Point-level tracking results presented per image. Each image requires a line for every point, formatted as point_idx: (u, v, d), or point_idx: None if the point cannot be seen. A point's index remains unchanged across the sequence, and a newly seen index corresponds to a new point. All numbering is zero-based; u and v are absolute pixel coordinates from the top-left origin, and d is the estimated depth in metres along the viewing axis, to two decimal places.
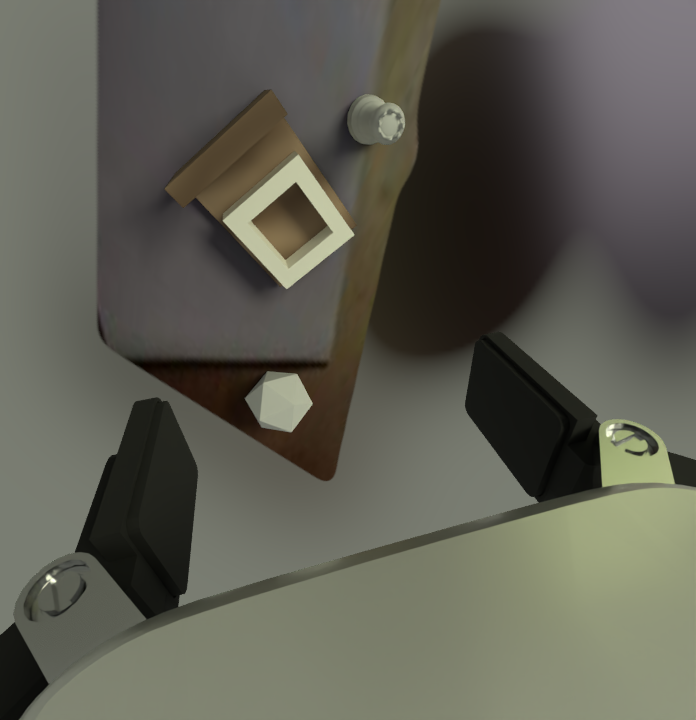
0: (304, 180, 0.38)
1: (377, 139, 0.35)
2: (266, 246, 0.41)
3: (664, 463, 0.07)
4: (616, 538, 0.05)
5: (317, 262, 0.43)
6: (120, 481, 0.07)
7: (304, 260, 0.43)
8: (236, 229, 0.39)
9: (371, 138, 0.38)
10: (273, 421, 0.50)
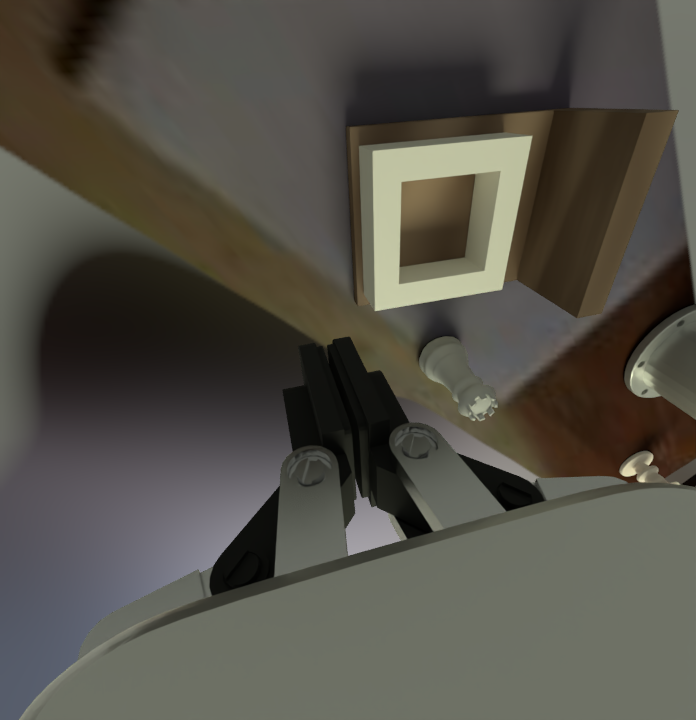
0: (476, 281, 0.27)
1: (476, 389, 0.29)
2: (456, 173, 0.23)
3: (448, 450, 0.08)
4: (616, 538, 0.05)
5: (376, 237, 0.24)
6: (322, 397, 0.09)
7: (394, 218, 0.23)
8: (508, 146, 0.22)
9: (442, 364, 0.33)
10: None
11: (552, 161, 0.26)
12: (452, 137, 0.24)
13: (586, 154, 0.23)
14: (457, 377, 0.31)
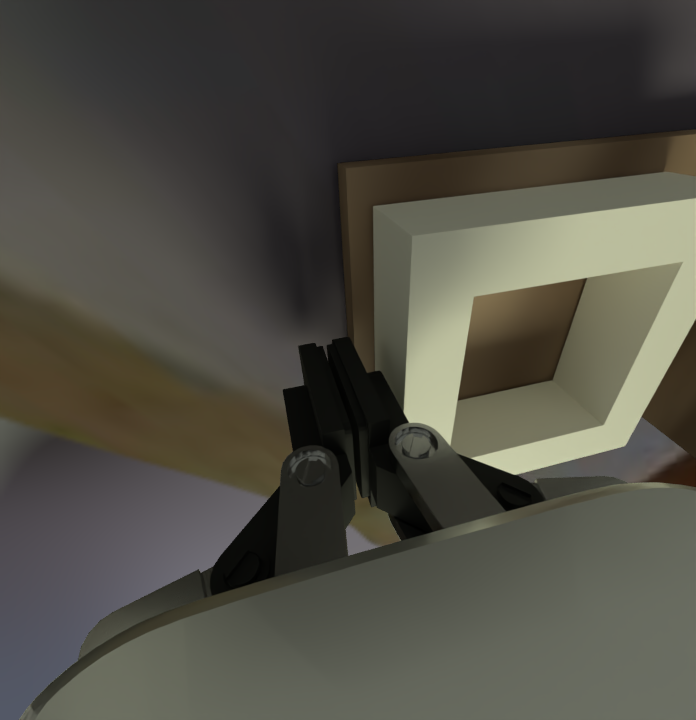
0: (586, 441, 0.15)
1: None
2: (593, 271, 0.10)
3: (448, 450, 0.08)
4: (616, 538, 0.05)
5: (410, 399, 0.11)
6: (323, 398, 0.09)
7: (450, 364, 0.11)
8: None
9: None
10: None
11: None
12: (568, 184, 0.11)
13: None
14: None
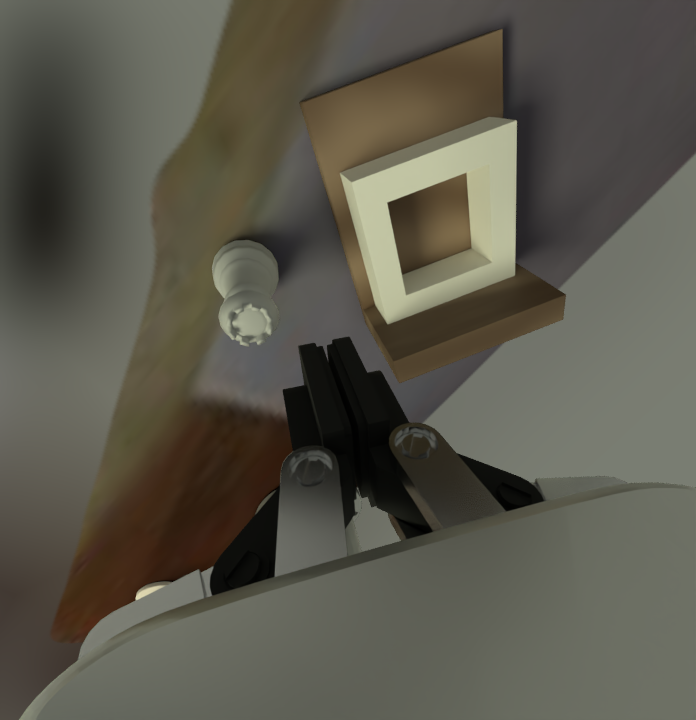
0: (394, 293, 0.26)
1: (272, 303, 0.20)
2: (493, 220, 0.24)
3: (448, 450, 0.08)
4: (616, 538, 0.05)
5: (438, 153, 0.21)
6: (323, 397, 0.09)
7: (456, 169, 0.22)
8: (509, 259, 0.26)
9: (255, 265, 0.23)
10: None
11: None
12: None
13: (506, 285, 0.27)
14: (258, 284, 0.22)
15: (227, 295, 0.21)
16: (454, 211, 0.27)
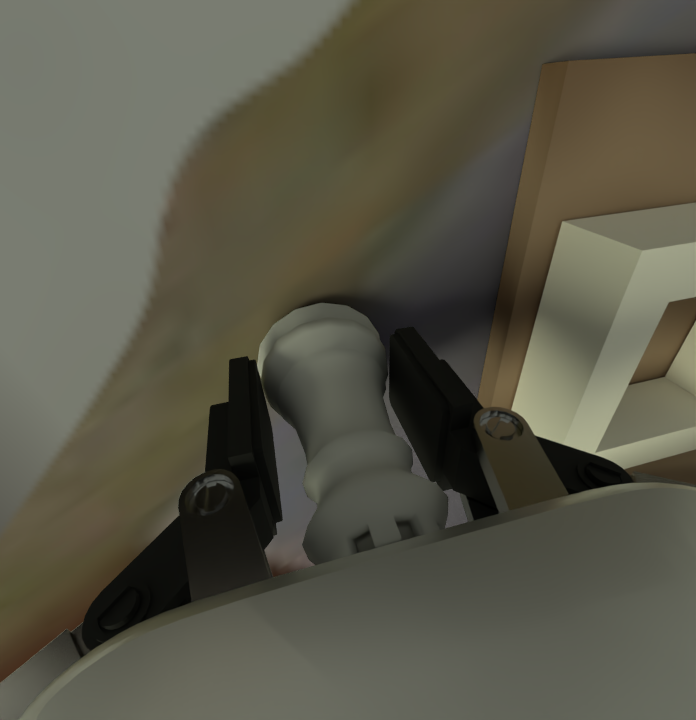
0: (581, 449, 0.14)
1: (446, 506, 0.08)
2: None
3: (532, 439, 0.08)
4: (616, 538, 0.05)
5: None
6: (239, 417, 0.09)
7: None
8: None
9: (367, 368, 0.11)
10: None
11: None
12: None
13: None
14: (389, 427, 0.09)
15: (324, 453, 0.08)
16: (675, 321, 0.16)
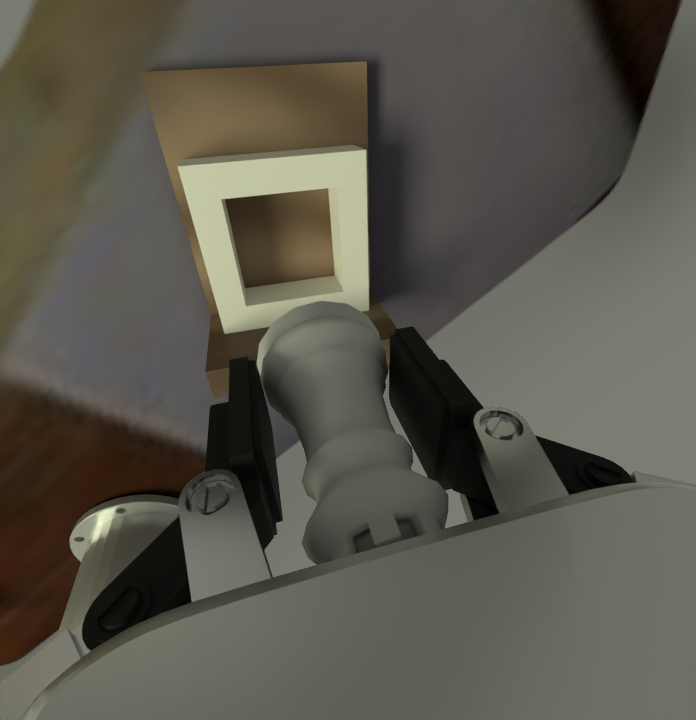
0: (232, 301, 0.24)
1: (446, 504, 0.08)
2: (343, 246, 0.24)
3: (532, 439, 0.08)
4: (616, 538, 0.05)
5: (280, 161, 0.20)
6: (239, 417, 0.09)
7: (301, 183, 0.21)
8: (362, 292, 0.26)
9: (367, 366, 0.11)
10: None
11: None
12: None
13: None
14: (388, 425, 0.09)
15: (324, 451, 0.08)
16: (316, 232, 0.26)
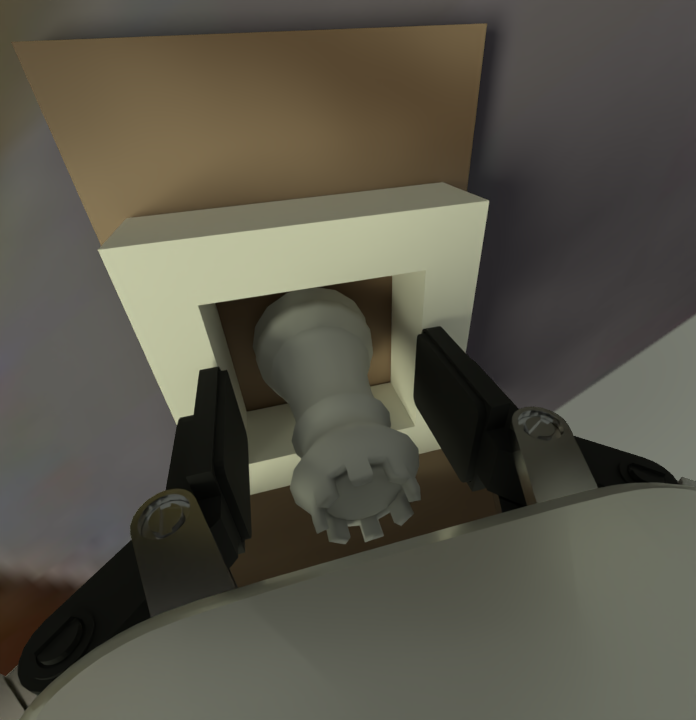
0: None
1: (416, 456, 0.09)
2: None
3: (571, 442, 0.08)
4: (616, 538, 0.05)
5: (319, 229, 0.10)
6: (202, 432, 0.08)
7: (358, 267, 0.10)
8: None
9: (352, 345, 0.12)
10: None
11: None
12: None
13: (433, 467, 0.15)
14: (369, 393, 0.11)
15: (310, 412, 0.10)
16: None
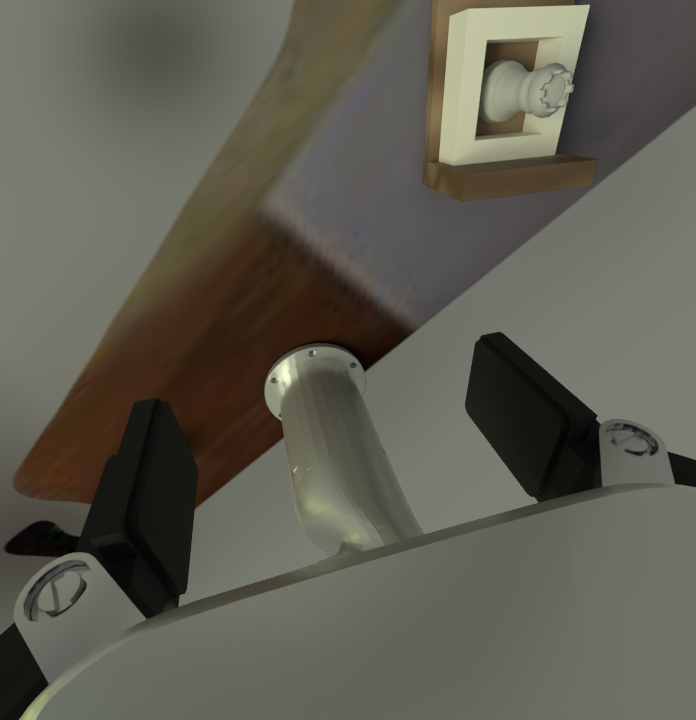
0: (466, 134, 0.31)
1: (569, 83, 0.27)
2: None
3: (664, 463, 0.07)
4: (616, 538, 0.05)
5: (533, 10, 0.28)
6: (120, 481, 0.07)
7: (541, 30, 0.28)
8: (554, 136, 0.33)
9: None
10: None
11: None
12: None
13: (549, 157, 0.33)
14: None
15: (530, 74, 0.27)
16: None
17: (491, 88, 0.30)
